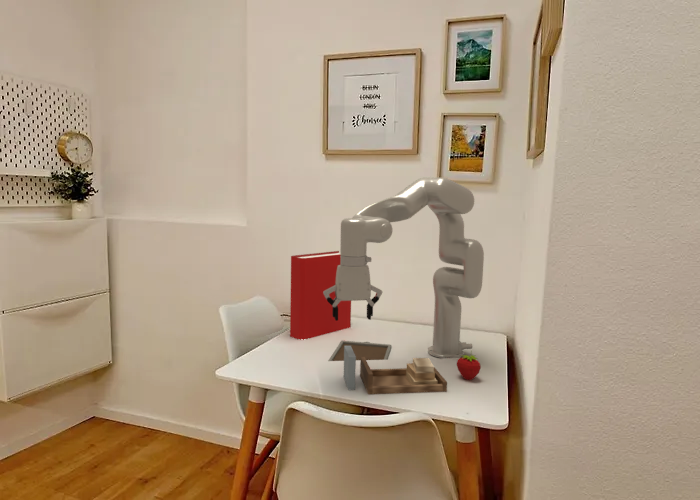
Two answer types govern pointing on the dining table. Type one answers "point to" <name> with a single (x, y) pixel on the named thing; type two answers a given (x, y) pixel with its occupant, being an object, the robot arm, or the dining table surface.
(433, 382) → the offcut bottom
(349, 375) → the grey square slab
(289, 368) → the dining table surface
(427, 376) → the offcut middle
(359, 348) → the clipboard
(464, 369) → the strawberry
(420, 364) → the offcut top
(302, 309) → the book
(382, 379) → the tray
